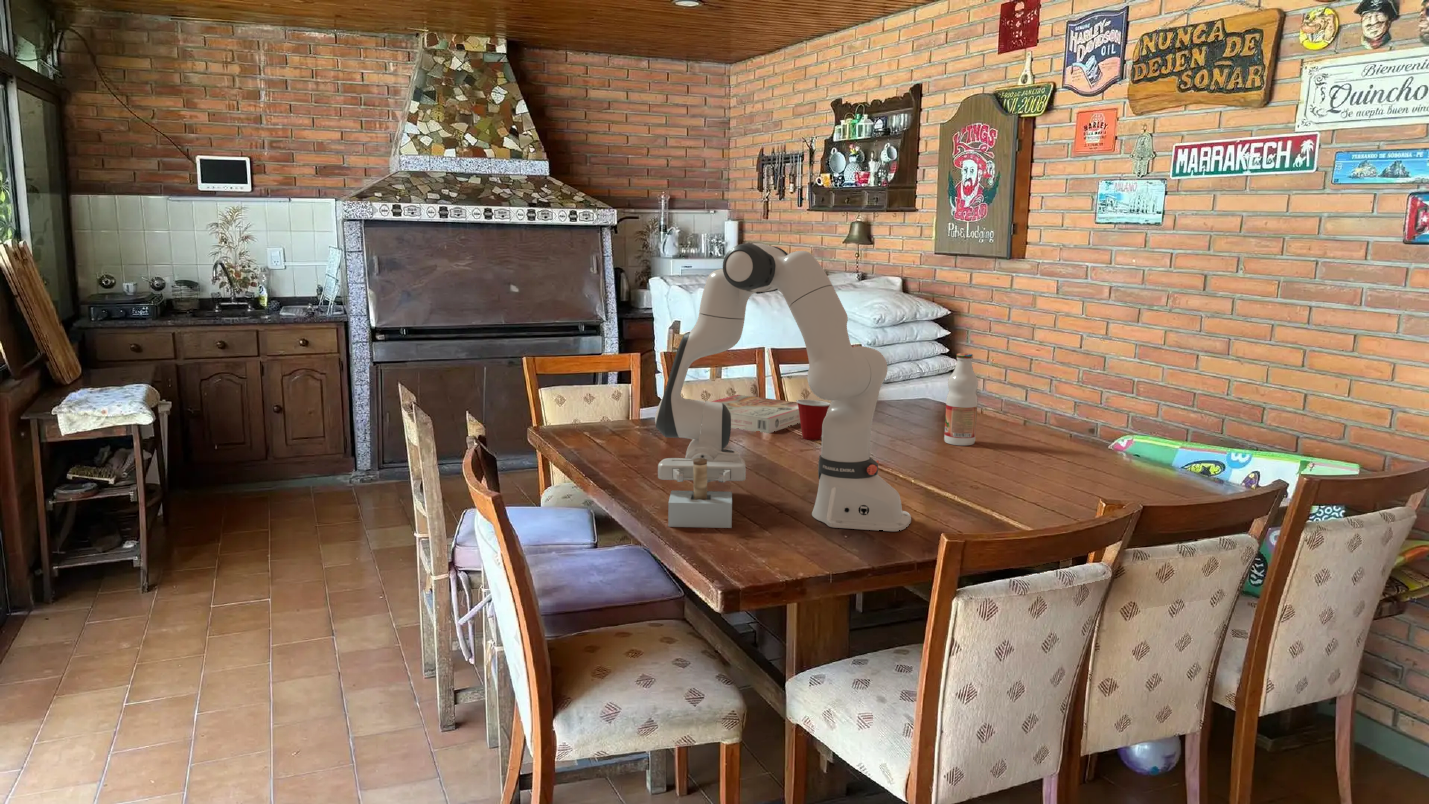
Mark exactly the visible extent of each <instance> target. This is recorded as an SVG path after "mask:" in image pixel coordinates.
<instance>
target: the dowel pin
mask: <svg viewBox="0 0 1429 804" xmlns="http://www.w3.org/2000/svg"><path fill="white" fill-rule="evenodd" d="M693 470H694V481H693V491H694V500H707V491H708V483H707V459H704V458H697V459H694V460H693Z"/></svg>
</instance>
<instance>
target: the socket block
mask: <svg viewBox="0 0 1429 804" xmlns="http://www.w3.org/2000/svg"><path fill="white" fill-rule="evenodd" d="M667 508H668V514H667V515H668V516H667V520H668V522H667V525H668V526H667V527H668V528H669V527H671V528H672V527H673V528H717V529H718V528H719V529H720V528H722V529H724V528H725V529H727V528H728V529H732V528H733V527H732V523H733V520H732V519H733V518H732V516H733V491H723V490H721V491H720V490H719V491H715V490H713V491H712V490H710V491H709V490H707V500H694V490H671V491H670V494H669V499H668V507H667Z"/></svg>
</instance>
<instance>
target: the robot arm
mask: <svg viewBox="0 0 1429 804" xmlns="http://www.w3.org/2000/svg"><path fill="white" fill-rule="evenodd" d="M776 291H779V292H780V293H781V294H782V296H783V297H784V300H785V302H786V304H787V306H788V308H789V311H790V312H791V314H792V317H793V319H794V320H795V323H796V325H797V327H798V329H799V332H800V333H801V336H802V338H803V342H804V344H805V349H806V354H807V358H808V370H807V377H806V379H807V383H808V388H810V390H811V393H812V394H814V396H815V397H817V398H819V399H821V400H824V401H825V400H826V401H830V406H829V407H828V410H827V413H826V416H825V418H824V420H823V424H822V436H821V450H820V451H821V452H820V454H819V458H818V466H817V474H818V480H819V481H818V488H817V494H816V498H815V501H814V502H815V503H814V506H813V509H812V512H811V516H812V517H813V518H814V519H815V520H817V521H819V522H822V523H824V524H826V525H827V526H828V527H830V528H836V529H838V528H839V529H852V530H853V529H854V530H865V531H869V530H870V531H879V530H883V531H882V532H900V531H902V530H905V529H907V528H908V527H909V526H910V525H911V523H912V515H911V514H910V513H909V512H908V511H906V510H903V508H902V507H903V506H902V500H901V496H900V493H899V492H898V491H897V490H896V489H895V488H894V487H893V486H891V485H890V484H889V483H888V482H887V481H885V480H884V479H883V478H882V477H881V476H880V475H879V473H878V472H879V465H880V464H879V459H877V460H876V461H875V460H874V458H872V457H871V441H872V439H871V438H872V425H873V421H874V415H875V410H876V407H877V402H878V398H879V395H880V391H881V387H882V385H883V383H884V381H885V380H886V377H887V375H888V364H887V363H888V362H887V360H886V358H885V356H884V355H883V354H882V353H881V352H880V351H878V350H877V349H875V348H871V347H869V346H865V345H864V346H862V345H860V346H859V345H858V346H852V344H851V340H850V337H849V331H848V326H847V325H848V320H849V318H848V314H847V311H846V309H845V308H844V305H843V303H842V301H841V300H840V298H839V295H838V293H837V291H836V289H835V288H834V286H833V284H832V281H831V280H830V278H829V276H828V274H827V273H826V272H825V270H824V268H823V266H821V263H820V262H818V260H817V259H816V257H815V256H814V255H813V254H812V253H811V252H809V251H807V250H795V251H792V252H790V253H788V252H787V251H785V250H784V249H782V248H780V247H778V246H772V245H768V244H765V243H759V242H758V243H749V242H747V243H746V242H745V243H740V244H737V245H735V246H733V247H732V248H730V249H729V250H728V252H727V253H726V254H725V256H724V258H723V262H722V268H720V269H716V270H714V271H712V272H710V274H708V276H707V279H706V281H705V285H704V287H703V291H702V294H701V295H702V296H701V300H700V304H699V311H698V312H699V313H698V318H697V321H696V323H695V325H694V327H693V328H692V329H691V330H690V331H688V332H685V333H684V334H683V336H682V337H681V340H680V341H679V345H678V348H677V351H676V353H675V356H674V359H673V362H672V366H671V369H670V372H669V376H668V378H667V382H666V385H665V389H664V393H663V396H662V398H661V400H660V402H659V404H658V406H657V408H656V412H655V415H654V416H655V417H654V422H655V423H654V425H655V428H656V429H657V431H658V432H659V433H660V434H661V435H662V436H663V437H664V438H670V439H671V438H673V439H679V438H680V439H690V440H691V441H690V442H689V445H688V446H687V449H686V452H685V458H681V457H680V458H679V457H668V458H666V457H665V458H663V459H662V460H661V461H659V463H658V465H657V478H658V479H659V480H665V481H676V482H679V483H681V482H682V483H683V482H684V481H693V482H694V470H693V460H694V459H697V458H704V459H707V484H708V483H710V482H718V483H726V482H744V481H745V480H746V476H747V475H746V473H747V472H746V471H747V470H746V468H747V466H746V461H745V460H744V458H742V457H741V456H740V452H739V451H737V450H731V449H725V448H726V447H727V446H728V445H729V443H730V439H731V438H730V437H731V433H732V431H731V430H732V428H731V413H730V412H729V410H728V408H727V407H726V406H725V405H724V404H723V403H718V402H711V401H709V400H699V399H691V398H685V397H682V394H681V393H682V390H683V387H684V383H685V381H686V378H687V374H688V370H689V368H690V366H691V365H692V364H693V363H694V362H695V361H697V360H699V359H700V358H704V357H708V356H713V355H716V354H721V353H723V352H725V351H729V350H731V349H732V348H733V347H735V346H736V345H737V344H738V343H739V342H740V340H741V338H742V335H743V330H744V326H745V318H746V311H747V303H748V300H749V299H750V297H751V296H752V295H754V294H757V295H758V294H760V295H761V294H765V293H770V292H776ZM703 409H704V410H703ZM702 417H703V418H702ZM909 524H910V525H909ZM906 527H907V528H906ZM899 530H900V531H899Z"/></svg>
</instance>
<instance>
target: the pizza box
mask: <svg viewBox="0 0 1429 804" xmlns="http://www.w3.org/2000/svg"><path fill="white" fill-rule="evenodd" d="M711 402H718V403H723V404H724V405H725V406H726V407H727V408H728V410H729V412H730V413H731V429H736V428H739V429H738V430H743V429H745V430H744V431H749V432H750V431H751V432H756V431H760V432H759V433H763V432H764V433H765V434H772V433H774V431H775V432H777V431H780V430H783V429H786V428H789V427H791V426H790V425H792V426H795V425H798V424H800V415H799V409H798V403H797V401H789V400H784V399H783V400H782V399H774V398H766V397H760V396H759V397H758V396H751V395H745V394H744V395H742V394H734V395H732V396H727V397H724V398H719V399H715V400H712V401H711ZM703 410H704V409H703ZM702 418H703V417H702ZM797 423H798V424H797ZM788 426H789V427H788Z"/></svg>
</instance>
